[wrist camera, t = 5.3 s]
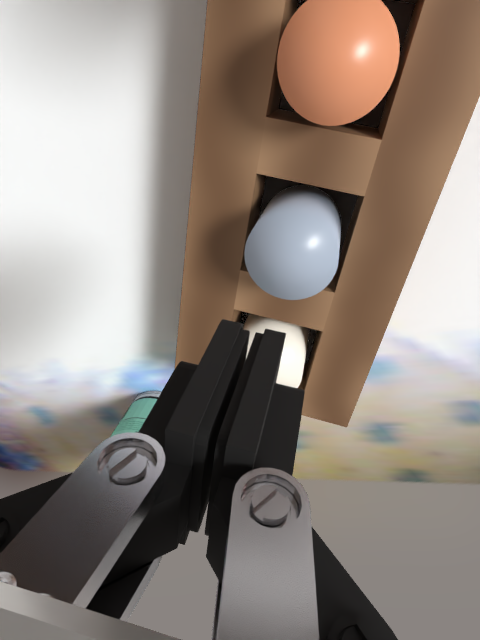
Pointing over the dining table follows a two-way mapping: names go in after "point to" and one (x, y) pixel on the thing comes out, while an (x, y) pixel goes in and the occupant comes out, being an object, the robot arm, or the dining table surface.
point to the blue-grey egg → (295, 243)
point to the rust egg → (338, 59)
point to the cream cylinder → (292, 348)
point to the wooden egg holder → (321, 184)
